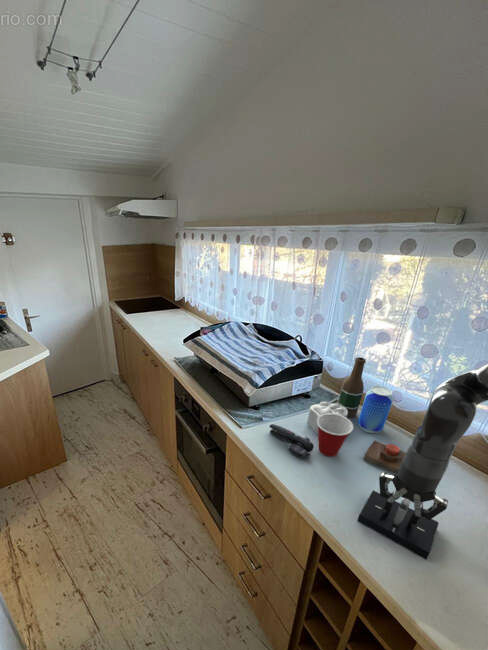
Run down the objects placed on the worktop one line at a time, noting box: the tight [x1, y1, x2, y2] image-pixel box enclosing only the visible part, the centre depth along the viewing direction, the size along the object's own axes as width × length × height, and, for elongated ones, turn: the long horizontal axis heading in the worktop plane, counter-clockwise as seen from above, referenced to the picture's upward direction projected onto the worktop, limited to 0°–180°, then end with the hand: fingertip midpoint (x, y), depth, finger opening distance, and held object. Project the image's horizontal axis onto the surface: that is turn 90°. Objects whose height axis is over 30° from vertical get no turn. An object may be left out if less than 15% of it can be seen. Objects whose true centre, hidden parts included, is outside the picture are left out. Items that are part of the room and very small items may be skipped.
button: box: [385, 443, 401, 456], centre depth 97 cm, size 4×4×2 cm
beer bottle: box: [337, 356, 367, 419], centre depth 117 cm, size 8×8×24 cm
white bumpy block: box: [306, 401, 348, 435], centre depth 113 cm, size 10×13×9 cm
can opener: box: [269, 423, 315, 459], centre depth 105 cm, size 18×7×6 cm, turn 32°
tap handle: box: [392, 497, 412, 528], centre depth 75 cm, size 6×2×6 cm, turn 136°
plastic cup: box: [317, 413, 354, 458], centre depth 100 cm, size 11×11×12 cm
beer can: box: [357, 385, 394, 434], centre depth 111 cm, size 8×8×16 cm
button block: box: [362, 440, 406, 475], centre depth 98 cm, size 12×10×4 cm
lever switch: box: [356, 489, 440, 560], centre depth 77 cm, size 15×11×3 cm
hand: (399, 516), depth 77 cm, fingers open, 4 cm apart
